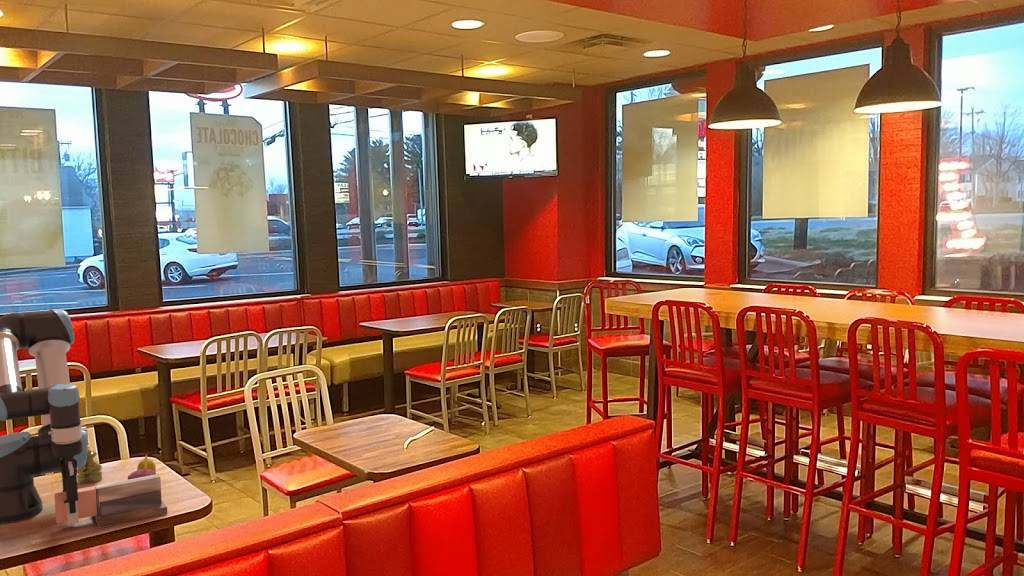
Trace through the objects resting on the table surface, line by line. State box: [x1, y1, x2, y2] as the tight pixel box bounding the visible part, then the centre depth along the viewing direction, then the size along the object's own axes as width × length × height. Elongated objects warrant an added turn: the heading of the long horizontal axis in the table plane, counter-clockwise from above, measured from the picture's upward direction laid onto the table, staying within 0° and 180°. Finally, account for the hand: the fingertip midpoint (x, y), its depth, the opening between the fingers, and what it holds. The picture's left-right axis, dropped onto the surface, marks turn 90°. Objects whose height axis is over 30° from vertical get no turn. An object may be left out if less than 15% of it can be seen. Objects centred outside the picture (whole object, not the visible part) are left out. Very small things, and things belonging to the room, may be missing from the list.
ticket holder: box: [93, 473, 168, 529], centre depth 237 cm, size 12×18×10 cm, turn 125°
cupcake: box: [127, 453, 157, 480], centre depth 255 cm, size 9×8×12 cm
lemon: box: [136, 458, 157, 472], centre depth 264 cm, size 6×6×8 cm
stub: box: [53, 485, 97, 524], centre depth 229 cm, size 3×10×8 cm, turn 125°
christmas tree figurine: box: [77, 449, 103, 485], centre depth 266 cm, size 7×7×10 cm
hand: (72, 521), depth 228 cm, fingers closed on stub, 3 cm apart
